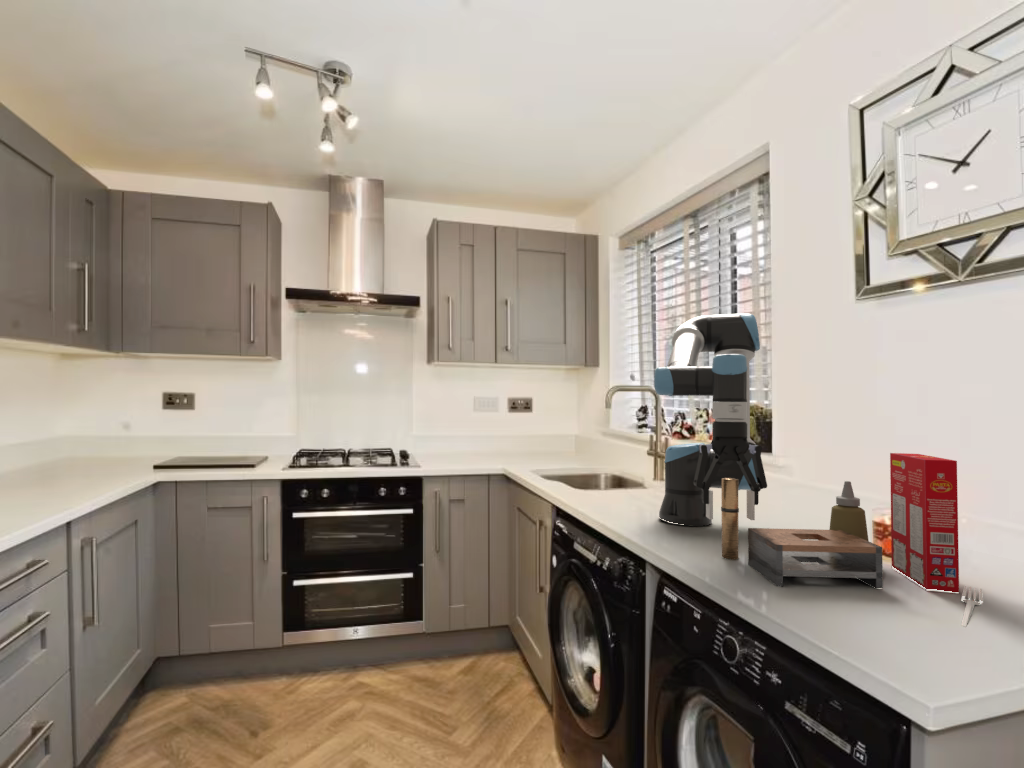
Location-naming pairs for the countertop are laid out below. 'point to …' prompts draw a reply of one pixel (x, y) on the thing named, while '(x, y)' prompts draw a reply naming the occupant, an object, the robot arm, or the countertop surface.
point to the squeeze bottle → (849, 514)
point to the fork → (970, 604)
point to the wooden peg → (730, 519)
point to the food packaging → (925, 519)
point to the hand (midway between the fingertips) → (729, 518)
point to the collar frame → (813, 555)
